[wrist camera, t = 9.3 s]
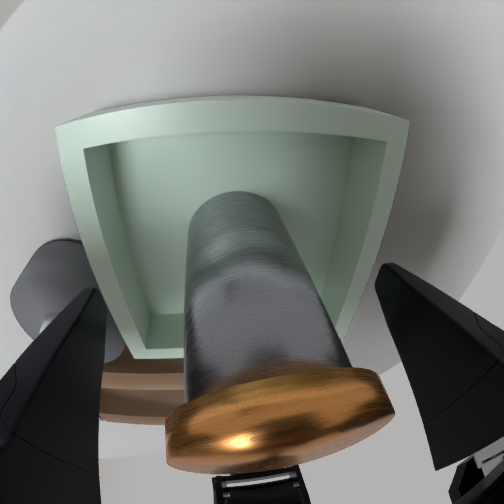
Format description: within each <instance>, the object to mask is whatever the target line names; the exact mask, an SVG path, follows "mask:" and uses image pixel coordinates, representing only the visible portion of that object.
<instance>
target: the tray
mask: <svg viewBox="0 0 504 504" xmlns="http://www.w3.org/2000/svg"><path fill="white" fill-rule="evenodd" d="M409 126H410V121H408V120H405V119H403V118H400V117H397V116H394V115H390V114H387V113H384V112H381V111H377V110H374V109H371V108H367V107H361V106H356V105H350V104H344V103H338V102H331V101H323V100H315V99H305V98H294V97H279V96H254V95H226V96H201V97H187V98H175V99H166V100H158V101H150V102H143V103H137V104H131V105H125V106H120V107H114V108H110V109H105V110H100V111H96V112H92V113H89V114H86V115H83V116H80V117H78V118H75V119H72V120H70V121H67V122H65V123H63V124H60V125H58V126H56V127H55V131H56V138H57V144H58V150H59V156H60V161H61V166H62V171H63V175H64V180H65V184H66V188H67V192H68V196H69V200H70V204H71V208H72V211H73V215H74V218H75V221H76V225H77V228H78V231H79V234H80V237H81V240H82V243H83V246H84V249H85V252H86V255H87V257H88V260H89V263H90V265H91V268H92V271H93V273H94V276H95V278H96V281H97V283H98V286H99V288H100V290H101V293H102V295H103V297H104V299H105V302H106V304H107V306H108V308H109V310H110V313H111V315H112V317H113V319H114V321H115V323H116V325H117V327H118V329H119V331H120V333H121V335H122V337H123V339H124V341H125V343H126V344H127V346H128V348H129V350H130V352H131V354H132V355H133V357H134V359H165V358H184V296H185V272H186V254H187V239H188V229H189V224H190V221H191V219H192V217H193V215H194V213H195V212H196V211H197V209H198V208H199V207H200V206H201V205H202V204H203V203H205V202H206V201H207V200H209V199H211V198H212V197H214V196H217V195H219V194H222V193H226V192H231V191H245V192H251V193H254V194H257V195H259V196H261V197H263V198H265V199H266V200H268V201H269V202H270V203H271V204H272V205H273V206H274V207H275V208H276V210H277V211H278V213H279V215H280V217H281V219H282V221H283V223H284V225H285V227H286V228H287V230H288V232H289V234H290V236H291V238H292V240H293V242H294V244H295V246H296V248H297V250H298V252H299V254H300V256H301V258H302V260H303V262H304V264H305V266H306V268H307V270H308V272H309V274H310V276H311V278H312V280H313V283H314V285H315V287H316V289H317V291H318V293H319V295H320V297H321V299H322V301H323V303H324V306H325V308H326V310H327V312H328V314H329V316H330V318H331V321H332V323H333V325H334V327H335V329H336V332H337V334H338V336H339V338H344V337H345V335H346V333H347V331H348V329H349V326H350V324H351V322H352V319H353V317H354V315H355V312H356V310H357V308H358V305H359V303H360V300H361V298H362V295H363V293H364V290H365V287H366V285H367V282H368V280H369V277H370V274H371V271H372V269H373V266H374V263H375V260H376V257H377V254H378V251H379V248H380V245H381V242H382V239H383V236H384V233H385V229H386V226H387V223H388V219H389V216H390V212H391V208H392V205H393V201H394V197H395V193H396V189H397V185H398V181H399V177H400V172H401V168H402V163H403V159H404V154H405V149H406V143H407V138H408V132H409Z"/></svg>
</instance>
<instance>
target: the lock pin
mask: <svg viewBox="0 0 504 504" xmlns="http://www.w3.org/2000/svg"><path fill="white" fill-rule="evenodd" d="M184 394H185V404H183V405H181V406H179V407H178V408H176V409H175V410H173V411H172V412H171V413H170V414H169V415H168V416H167V418H166V420H165V439H166V459H167V464H168V465H169V466H171V467H174V468H176V469H179V470H183V471H188V472H195V473H203V474H243V473H254V472H262V471H269V470H275V469H280V468H285V467H289V466H294V465H298V464H302V463H305V462H309V461H312V460H315V459H318V458H321V457H324V456H327V455H330V454H332V453H335V452H338V451H340V450H343V449H345V448H347V447H349V446H352V445H354V444H356V443H358V442H359V441H362V440H363V439H365V438H367V437H369V436H370V435H372V434H374V433H375V432H377V431H378V430H380V429H381V428H383V427H384V426H385V425H386V424H388V423H389V422H390V421H391V420H392V418H393V417H394V415H395V411H394V408H393V406H392V404H391V401H390V399H389V397H388V395H387V393H386V391H385V388H384V386H383V384H382V382H381V380H380V377H379V376H378V375H377V374H376V373H375V372H373V371H371V370H368V369H364V368H354V367H352V365H351V363H350V361H349V358H348V356H347V354H346V352H345V349H344V347H343V345H342V343H341V340H340V338H339V336H338V334H337V332H336V329H335V327H334V325H333V323H332V321H331V318H330V316H329V314H328V312H327V310H326V308H325V306H324V303H323V301H322V299H321V297H320V295H319V293H318V291H317V289H316V287H315V285H314V283H313V280H312V278H311V276H310V274H309V272H308V270H307V268H306V266H305V264H304V262H303V260H302V258H301V256H300V254H299V252H298V250H297V248H296V246H295V244H294V242H293V240H292V238H291V236H290V234H289V232H288V230H287V228H286V227H285V225H284V223H283V221H282V219H281V217H280V215H279V213H278V211H277V210H276V208H275V207H274V206H273V205H272V204H271V203H270V202H269V201H268V200H266V199H265V198H263V197H261V196H259V195H257V194H254V193H251V192H245V191H231V192H226V193H222V194H219V195H217V196H214V197H212V198H211V199H209V200H207V201H206V202H205V203H203V204H202V205H201V206H200V207H199V208H198V209H197V211H196V212H195V213H194V215H193V217H192V219H191V221H190V224H189V229H188V239H187V254H186V272H185V296H184Z"/></svg>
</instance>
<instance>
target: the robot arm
mask: <svg viewBox="0 0 504 504" xmlns="http://www.w3.org/2000/svg"><path fill="white" fill-rule="evenodd" d="M375 290H376V293H377V296H378V299H379V302H380V305H381V308H382V311H383V314H384V317H385V320H386V323H387V326H388V328H389V331H390V333H391V336H392V338H393V340H394V343H395V345H396V348H397V350H398V353H399V355H400V358H401V360H402V363H403V366H404V368H405V371H406V374H407V376H408V379H409V382H410V385H411V388H412V390H413V393H414V396H415V399H416V402H417V406H418V408H419V412H420V415H421V418H422V421H423V424H424V429H425V432H426V435H427V440H428V443H429V447H430V451H431V455H432V459H433V464H434V468H435V470H436V471H437V470H439V469H442V468H444V467H446V466H449V465H451V464H453V463H456V462H457V461H460V460H462V459H464V458H466V457H468V456H469V457H468V458H467V459H466V460H464V461H463V462H462V463H460V464H459V465H458V466H457V469H456V473H455V475H454V478H453V481H452V484H451V486H450V489H449V491H448V492H449V495H450V498H451V502H452V504H504V331H503V330H502V329H500V328H498V327H497V326H495V325H494V324H492V323H490V322H489V321H487V320H486V319H484V318H483V317H481V316H480V315H478V314H477V313H475V312H473V311H472V310H470V309H469V308H467V307H466V306H464V305H462V304H461V303H459V302H458V301H457V300H455V299H453V298H452V297H450V296H449V295H447V294H445V293H444V292H442V291H441V290H439V289H437V288H436V287H434V286H432V285H431V284H429V283H427V282H426V281H424V280H422V279H421V278H419V277H417V276H416V275H414V274H412V273H410V272H409V271H407V270H405V269H404V268H402V267H400V266H398V265H397V264H395V263H385V264H383V265H382V266H381V268H380V270H379V273H378V275H377V278H376V281H375ZM106 323H107V307H106V305H105V302H104V300H103V298H102V296H101V293H100V291H99V289H98V288H96V287H87V288H84V289H83V290H82V291H81V292H80V293H79V294H78V295H77V296H76V297H75V298H74V299H73V300H72V301H71V302H70V303H69V304H68V305H67V306H66V307H65V308H64V309H63V310H62V311H61V312H60V313H59V314H58V315H57V316H56V317H55V318H54V319H53V320H52V321H51V322H50V323H49V324H48V326H47V327H46V328H45V329H44V330H43V331H42V332H41V333H40V334H39V335H38V336H37V337H36V339H35V340H34V341H33V342H32V343H31V344H30V345H29V346H28V348H27V349H26V350H25V351H24V352H23V353H22V355H21V356H20V357H19V358H18V359H17V360H16V363H14V364H13V365H12V366H11V368H10V369H9V370H8V371H7V373H6V374H5V375H4V376H3V377H2V379H1V380H0V504H101V495H100V482H99V466H98V465H99V464H98V433H99V410H100V396H101V385H102V376H103V367H104V359H105V340H106ZM286 475H289V476H290V478H288V479H283V480H278V481H272V482H267V483H260V484H253V485H245V486H235V487H227V485H226V484H229V483H240V482H249V481H256V480H263V479H270V478H275V477H281V476H286ZM212 483H213V491H214V504H311V502H310V498H309V495H308V492H307V489H306V486H305V483H304V480H303V477H302V474H301V472H300V468H299V465H294V466H291V467H286V468H280V469H275V470H269V471H262V472H254V473H243V474H230V476H216V477H214V478H212ZM228 495H230V497H228Z"/></svg>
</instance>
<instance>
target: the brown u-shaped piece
mask: <svg viewBox="0 0 504 504" xmlns="http://www.w3.org/2000/svg"><path fill="white" fill-rule="evenodd" d="M183 404H185V394H184V358H165V359H134V357H133V355H132V354H131V352H130V350H129V348H128V346H127V344H126V343H125V345H124V349H123V351H122V353H121V354H120V356H119V357H117V358H116V359H115V360H113V361H111V362H107V363H104V367H103V376H102V385H101V396H100V410H99V420H100V421H103V419H104V420H105V421H108V422H118V423H129V424H146V425H165V420H166V418H167V416H168V415H169V414H170V413H171V412H172V411H173V410H175V409H176V408H178V407H179V406H181V405H183Z"/></svg>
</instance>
